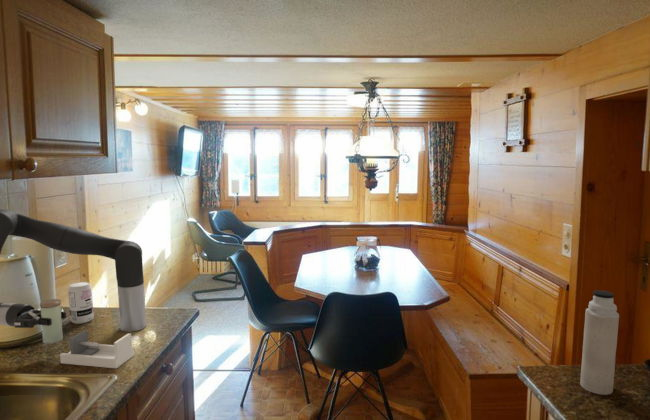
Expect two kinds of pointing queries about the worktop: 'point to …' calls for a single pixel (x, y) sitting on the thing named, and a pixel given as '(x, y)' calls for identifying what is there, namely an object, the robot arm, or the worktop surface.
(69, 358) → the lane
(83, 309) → the supplement can
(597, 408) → the worktop surface
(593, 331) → the thermos bottle
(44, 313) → the jar
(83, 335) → the pusher
